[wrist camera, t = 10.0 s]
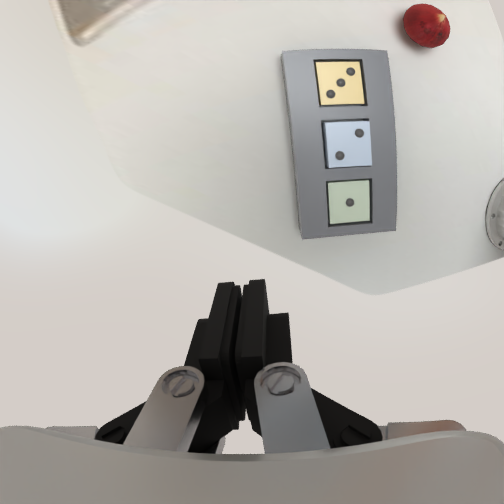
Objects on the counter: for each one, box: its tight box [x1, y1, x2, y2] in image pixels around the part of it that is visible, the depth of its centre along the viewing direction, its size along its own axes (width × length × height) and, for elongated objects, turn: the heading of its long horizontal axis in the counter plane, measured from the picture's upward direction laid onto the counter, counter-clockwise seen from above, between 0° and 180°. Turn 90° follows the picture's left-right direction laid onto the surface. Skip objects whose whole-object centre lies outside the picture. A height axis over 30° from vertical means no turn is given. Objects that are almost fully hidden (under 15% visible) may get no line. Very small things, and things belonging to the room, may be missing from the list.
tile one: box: [326, 179, 370, 224], centre depth 37 cm, size 5×5×2 cm
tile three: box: [314, 62, 364, 105], centre depth 31 cm, size 5×5×2 cm
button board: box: [281, 49, 397, 239], centre depth 34 cm, size 12×22×4 cm, turn 7°
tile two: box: [322, 121, 372, 168], centre depth 32 cm, size 5×5×2 cm
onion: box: [403, 4, 450, 48], centre depth 25 cm, size 6×6×8 cm
